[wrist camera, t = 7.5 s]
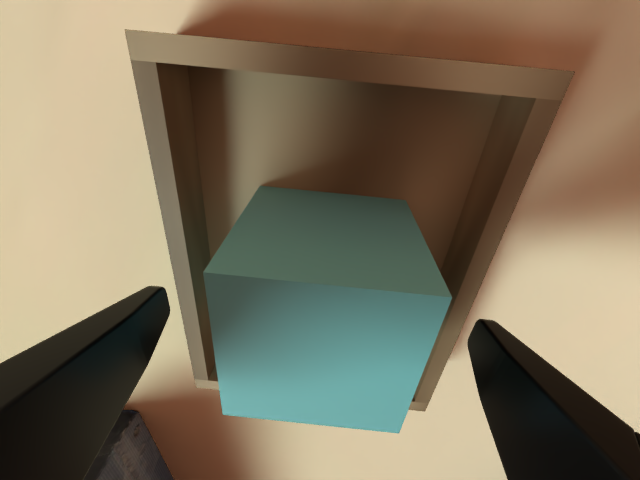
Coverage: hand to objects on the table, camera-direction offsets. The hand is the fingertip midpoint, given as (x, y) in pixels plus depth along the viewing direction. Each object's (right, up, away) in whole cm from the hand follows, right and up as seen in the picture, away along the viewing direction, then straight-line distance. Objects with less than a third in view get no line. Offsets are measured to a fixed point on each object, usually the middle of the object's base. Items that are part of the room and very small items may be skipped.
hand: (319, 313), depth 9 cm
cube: (0, +2, +3) cm, 3 cm away
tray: (0, +2, +3) cm, 4 cm away
